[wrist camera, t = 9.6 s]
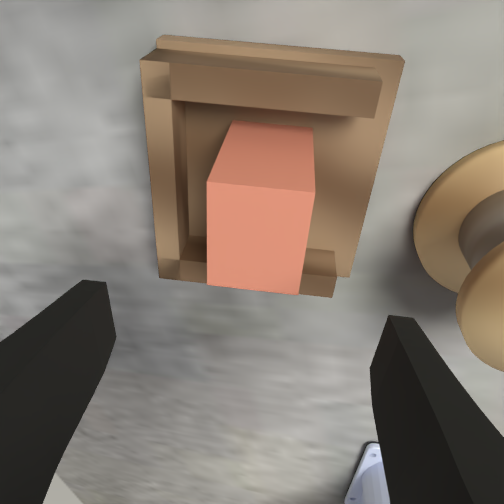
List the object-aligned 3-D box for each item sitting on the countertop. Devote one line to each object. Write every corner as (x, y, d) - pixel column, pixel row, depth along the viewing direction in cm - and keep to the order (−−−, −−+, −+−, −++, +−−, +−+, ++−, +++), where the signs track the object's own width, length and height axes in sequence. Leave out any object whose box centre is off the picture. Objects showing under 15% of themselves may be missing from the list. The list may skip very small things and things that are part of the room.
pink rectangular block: (299, 214, 19) (298, 295, 15) (229, 206, 19) (207, 284, 15) (312, 127, 17) (315, 192, 12) (232, 120, 17) (206, 181, 12)
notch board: (347, 265, 22) (352, 305, 19) (175, 246, 22) (159, 282, 20) (399, 55, 16) (417, 74, 13) (163, 34, 16) (138, 50, 14)
